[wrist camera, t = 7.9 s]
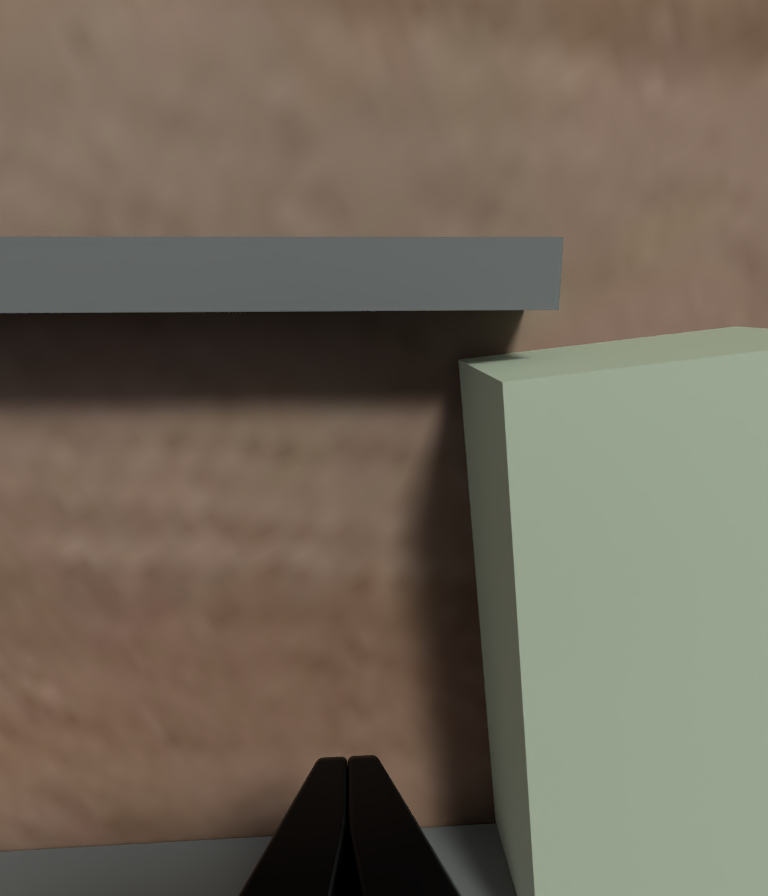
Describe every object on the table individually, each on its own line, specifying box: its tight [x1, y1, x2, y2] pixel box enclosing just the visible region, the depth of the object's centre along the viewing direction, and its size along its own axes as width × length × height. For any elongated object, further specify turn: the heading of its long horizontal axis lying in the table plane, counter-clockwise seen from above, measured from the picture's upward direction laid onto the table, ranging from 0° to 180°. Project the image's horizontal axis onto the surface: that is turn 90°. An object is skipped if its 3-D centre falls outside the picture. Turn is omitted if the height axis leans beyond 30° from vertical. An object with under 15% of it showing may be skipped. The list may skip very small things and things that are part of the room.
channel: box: [0, 237, 563, 896], centre depth 12 cm, size 19×15×2 cm
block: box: [458, 327, 768, 896], centre depth 13 cm, size 6×12×4 cm, turn 6°
